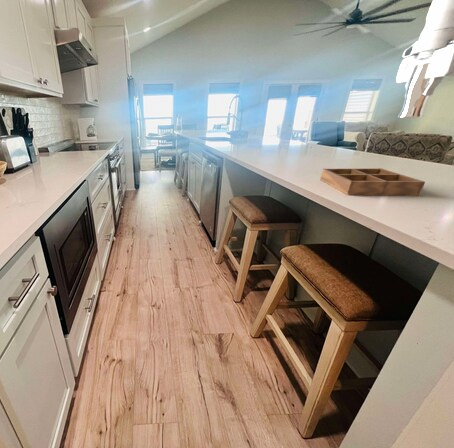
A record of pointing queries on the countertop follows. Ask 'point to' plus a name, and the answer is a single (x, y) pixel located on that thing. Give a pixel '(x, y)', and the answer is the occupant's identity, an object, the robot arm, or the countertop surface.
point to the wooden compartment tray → (371, 182)
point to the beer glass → (416, 93)
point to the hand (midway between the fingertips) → (417, 96)
